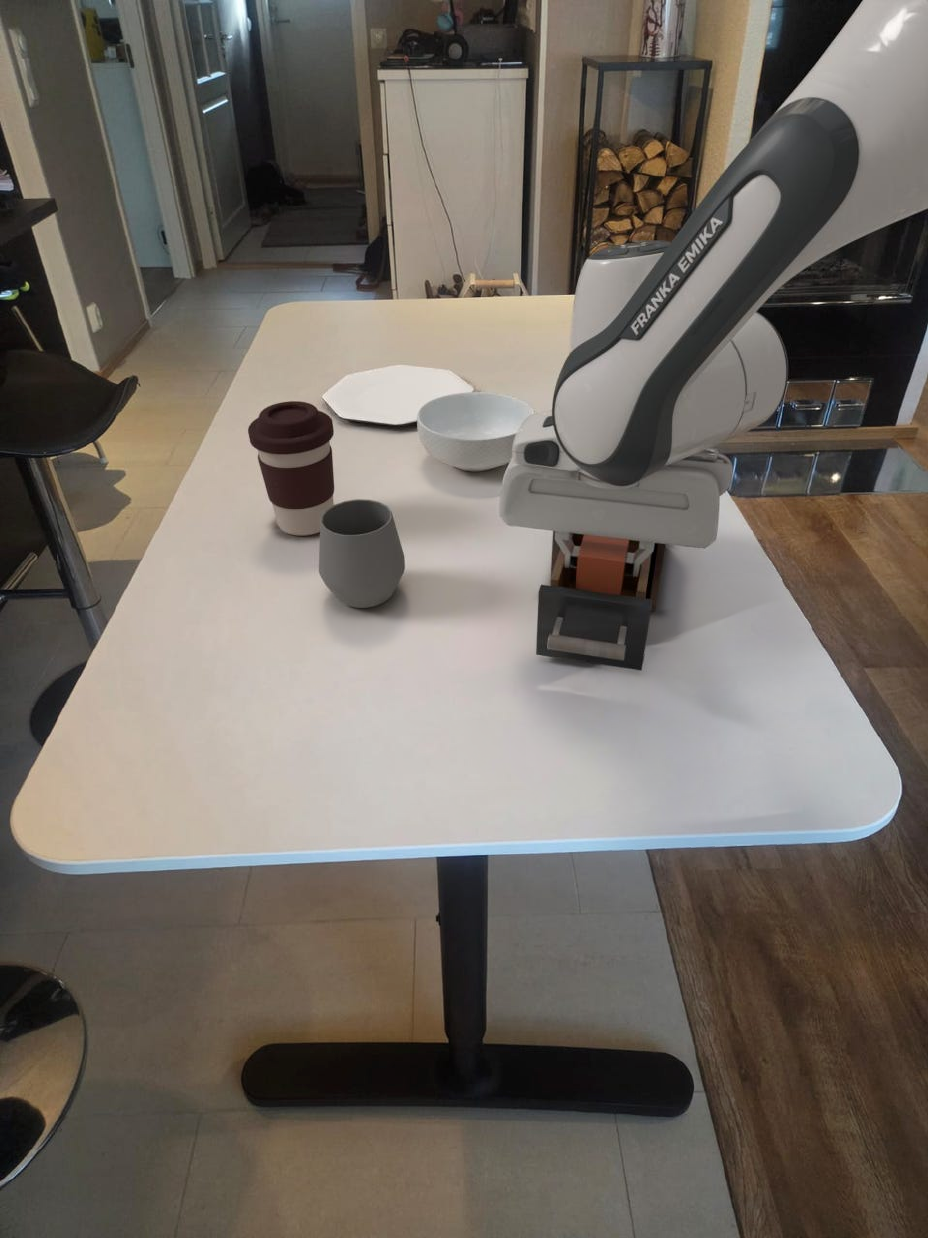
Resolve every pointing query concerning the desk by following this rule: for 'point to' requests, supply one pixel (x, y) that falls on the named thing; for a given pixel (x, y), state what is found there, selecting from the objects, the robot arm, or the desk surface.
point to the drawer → (594, 617)
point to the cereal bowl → (472, 428)
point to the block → (601, 564)
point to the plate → (391, 393)
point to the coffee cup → (295, 463)
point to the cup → (360, 552)
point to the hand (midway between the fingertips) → (601, 569)
